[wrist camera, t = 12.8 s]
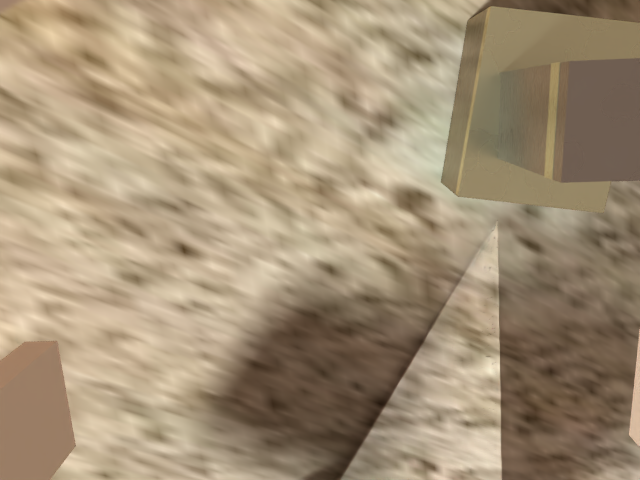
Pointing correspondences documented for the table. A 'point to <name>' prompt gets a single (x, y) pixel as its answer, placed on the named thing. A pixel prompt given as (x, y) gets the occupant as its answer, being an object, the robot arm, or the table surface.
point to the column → (573, 120)
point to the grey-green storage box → (484, 100)
